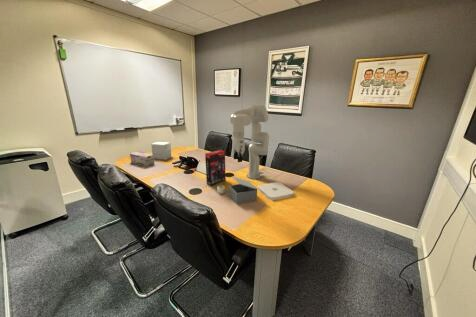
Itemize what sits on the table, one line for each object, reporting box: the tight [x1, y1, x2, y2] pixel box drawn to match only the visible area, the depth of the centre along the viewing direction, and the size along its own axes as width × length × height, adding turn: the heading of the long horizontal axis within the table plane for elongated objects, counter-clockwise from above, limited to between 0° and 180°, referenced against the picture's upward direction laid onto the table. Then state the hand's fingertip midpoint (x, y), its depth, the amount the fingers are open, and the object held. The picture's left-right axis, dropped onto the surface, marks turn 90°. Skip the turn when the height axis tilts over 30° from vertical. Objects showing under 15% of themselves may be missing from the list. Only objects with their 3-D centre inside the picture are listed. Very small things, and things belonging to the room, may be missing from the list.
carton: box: [228, 183, 258, 205], centre depth 142 cm, size 16×14×8 cm
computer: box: [257, 181, 295, 201], centre depth 153 cm, size 22×22×3 cm
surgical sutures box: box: [129, 151, 155, 168], centre depth 209 cm, size 25×11×11 cm, turn 59°
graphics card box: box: [204, 149, 226, 187], centre depth 164 cm, size 17×7×27 cm, turn 138°
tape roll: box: [216, 184, 226, 195], centre depth 150 cm, size 6×6×5 cm
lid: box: [231, 176, 258, 190], centre depth 140 cm, size 16×14×1 cm
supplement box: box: [150, 141, 172, 161], centre depth 230 cm, size 17×13×18 cm
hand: (237, 160), depth 133 cm, fingers open, 5 cm apart
